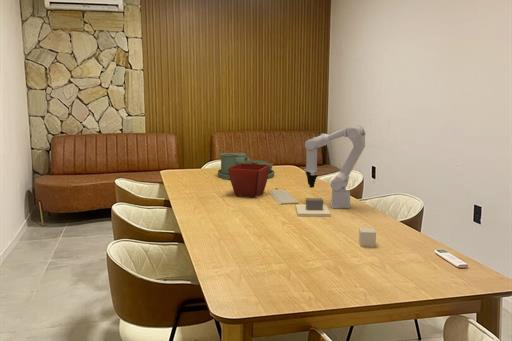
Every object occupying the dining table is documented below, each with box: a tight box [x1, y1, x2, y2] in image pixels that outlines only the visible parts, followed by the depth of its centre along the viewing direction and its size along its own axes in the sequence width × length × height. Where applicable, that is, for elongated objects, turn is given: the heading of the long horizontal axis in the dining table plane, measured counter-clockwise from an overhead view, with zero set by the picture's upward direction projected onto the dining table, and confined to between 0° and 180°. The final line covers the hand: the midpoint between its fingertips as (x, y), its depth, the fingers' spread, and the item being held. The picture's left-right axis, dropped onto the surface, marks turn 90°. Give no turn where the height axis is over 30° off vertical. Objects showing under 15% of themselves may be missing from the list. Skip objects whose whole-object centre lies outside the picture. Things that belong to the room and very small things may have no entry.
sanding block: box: [305, 197, 324, 210], centre depth 248 cm, size 8×5×5 cm, turn 90°
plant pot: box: [228, 163, 270, 198], centre depth 285 cm, size 19×19×17 cm
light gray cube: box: [358, 227, 377, 248], centre depth 199 cm, size 6×6×6 cm
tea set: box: [217, 151, 275, 181], centre depth 344 cm, size 40×40×16 cm
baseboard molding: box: [268, 187, 299, 206], centre depth 279 cm, size 31×3×12 cm
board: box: [294, 204, 332, 218], centre depth 249 cm, size 16×18×2 cm
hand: (310, 185), depth 266 cm, fingers open, 7 cm apart
